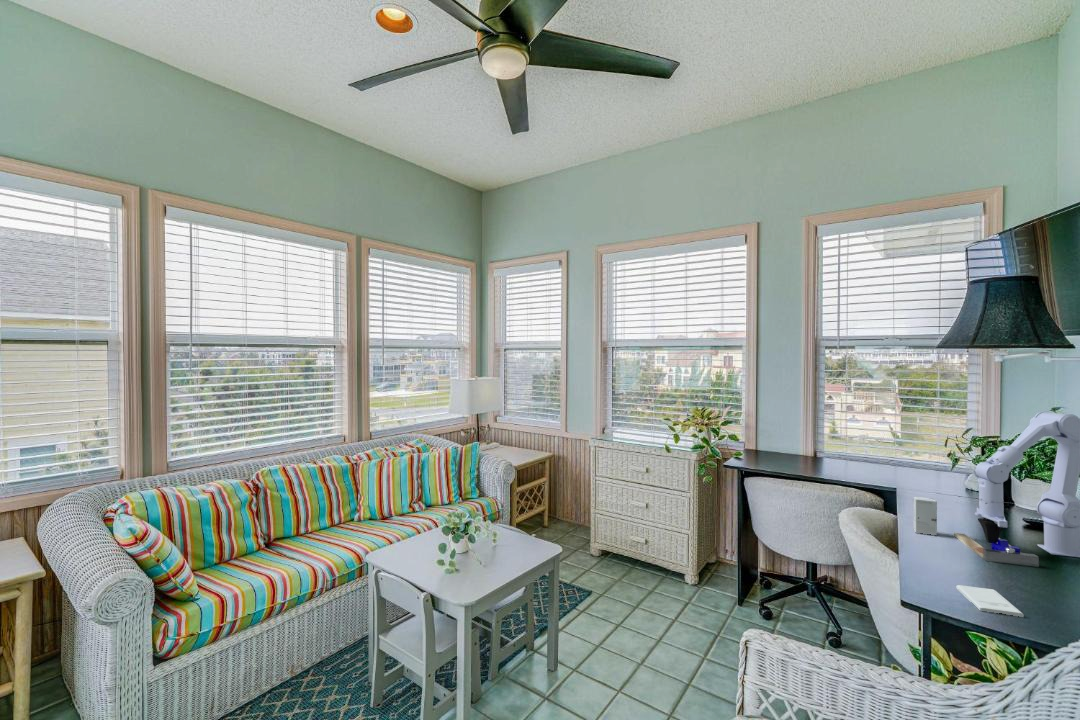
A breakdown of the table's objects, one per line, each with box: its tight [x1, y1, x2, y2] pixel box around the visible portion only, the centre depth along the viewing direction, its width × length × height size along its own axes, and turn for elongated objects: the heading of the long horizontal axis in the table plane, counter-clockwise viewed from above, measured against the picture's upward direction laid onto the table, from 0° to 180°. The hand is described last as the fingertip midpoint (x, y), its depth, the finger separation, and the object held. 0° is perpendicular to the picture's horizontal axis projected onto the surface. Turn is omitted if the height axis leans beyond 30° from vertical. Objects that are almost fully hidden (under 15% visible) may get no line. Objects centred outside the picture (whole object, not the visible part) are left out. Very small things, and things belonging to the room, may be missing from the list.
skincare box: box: [913, 496, 938, 536], centre depth 167 cm, size 6×4×12 cm
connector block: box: [982, 547, 1040, 568], centre depth 142 cm, size 12×2×4 cm, turn 68°
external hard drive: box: [956, 584, 1025, 618], centre depth 119 cm, size 2×8×12 cm
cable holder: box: [990, 538, 1021, 553], centre depth 147 cm, size 8×4×4 cm, turn 158°
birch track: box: [953, 532, 1023, 559], centre depth 152 cm, size 12×21×1 cm, turn 158°
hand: (991, 542), depth 152 cm, fingers closed
